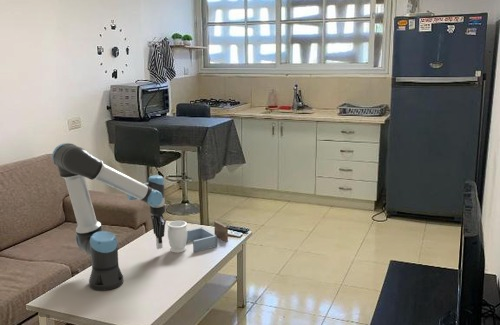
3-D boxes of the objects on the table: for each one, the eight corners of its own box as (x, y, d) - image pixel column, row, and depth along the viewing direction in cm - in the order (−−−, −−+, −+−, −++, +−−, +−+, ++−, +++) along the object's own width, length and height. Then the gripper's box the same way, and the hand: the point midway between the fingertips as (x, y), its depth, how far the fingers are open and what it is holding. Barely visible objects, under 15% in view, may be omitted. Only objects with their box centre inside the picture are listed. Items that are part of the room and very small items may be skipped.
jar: (186, 254, 257) (185, 227, 253) (166, 253, 257) (165, 226, 254) (189, 246, 267) (188, 220, 264) (170, 245, 267) (169, 220, 264)
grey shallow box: (194, 252, 259) (194, 241, 257) (180, 242, 272) (179, 232, 270) (217, 246, 267) (217, 235, 265) (202, 237, 280) (202, 227, 278)
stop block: (224, 242, 273) (224, 226, 271) (214, 236, 282) (214, 221, 280) (227, 241, 274) (227, 226, 272) (217, 235, 283) (217, 220, 281)
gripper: (169, 207, 247) (171, 250, 252) (158, 200, 257) (160, 242, 262) (156, 210, 242) (158, 254, 248) (145, 203, 253) (147, 245, 258)
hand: (159, 248), depth 255 cm, fingers closed
